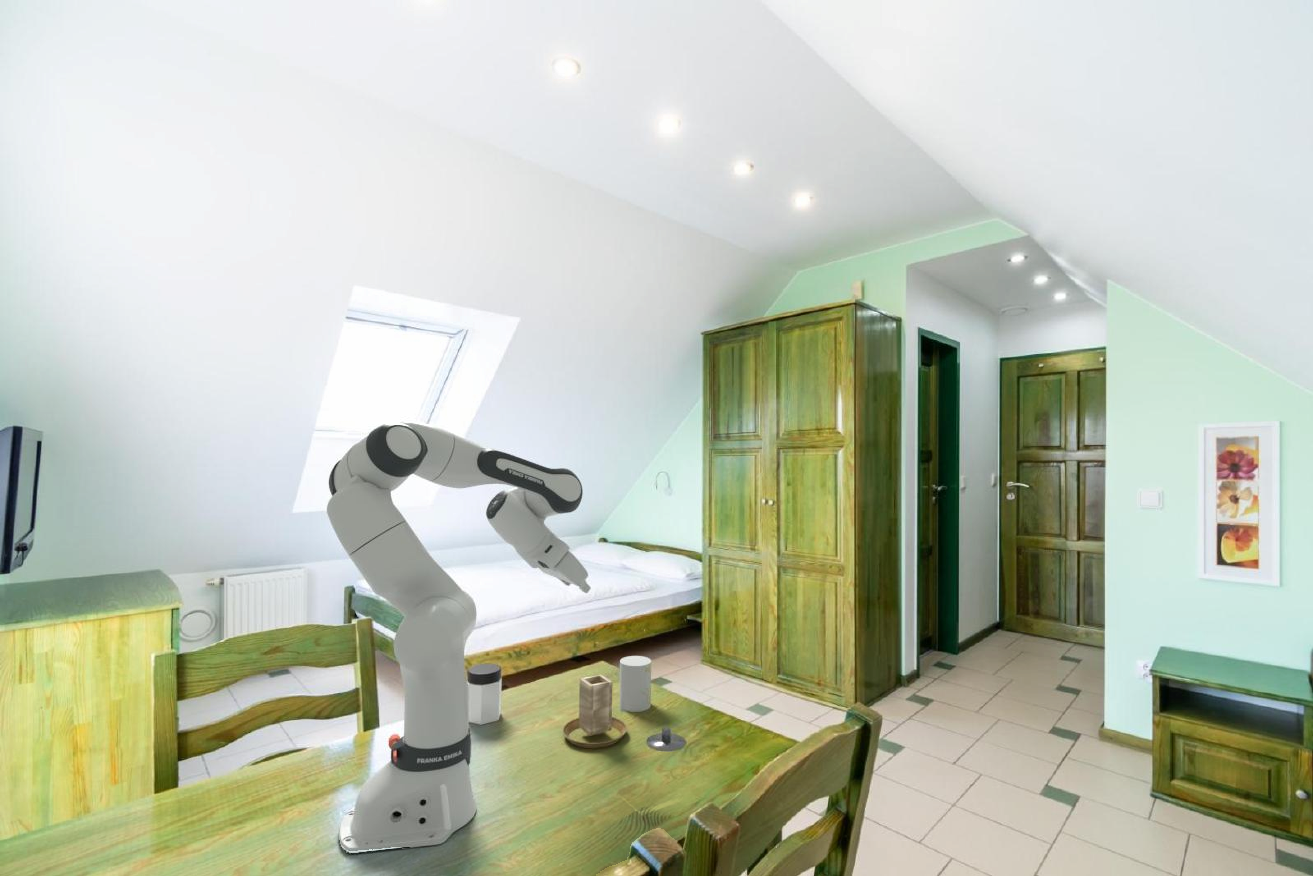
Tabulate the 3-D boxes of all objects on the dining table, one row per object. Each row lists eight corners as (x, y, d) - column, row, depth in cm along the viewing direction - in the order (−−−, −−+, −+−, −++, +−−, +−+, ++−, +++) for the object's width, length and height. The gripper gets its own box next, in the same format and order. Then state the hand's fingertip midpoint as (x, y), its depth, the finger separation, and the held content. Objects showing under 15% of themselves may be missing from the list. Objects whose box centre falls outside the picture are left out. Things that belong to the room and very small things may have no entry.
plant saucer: (624, 755, 137) (625, 743, 137) (557, 754, 137) (557, 742, 137) (628, 726, 152) (628, 715, 152) (567, 725, 152) (567, 714, 152)
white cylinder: (650, 714, 158) (650, 666, 158) (618, 713, 158) (618, 665, 158) (651, 702, 166) (651, 656, 166) (620, 701, 166) (621, 655, 167)
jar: (494, 708, 161) (495, 660, 161) (507, 718, 154) (508, 669, 155) (459, 716, 155) (460, 667, 156) (471, 728, 149) (473, 676, 149)
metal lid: (661, 757, 135) (661, 741, 135) (638, 741, 143) (638, 726, 143) (694, 747, 140) (694, 731, 140) (670, 732, 148) (670, 717, 148)
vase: (589, 735, 140) (590, 686, 141) (578, 726, 145) (579, 678, 145) (615, 729, 144) (616, 681, 144) (604, 720, 149) (605, 673, 149)
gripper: (515, 553, 153) (551, 589, 158) (550, 566, 136) (589, 605, 141) (532, 533, 156) (567, 569, 161) (569, 544, 139) (607, 583, 144)
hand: (578, 586), depth 151 cm, fingers open, 8 cm apart
